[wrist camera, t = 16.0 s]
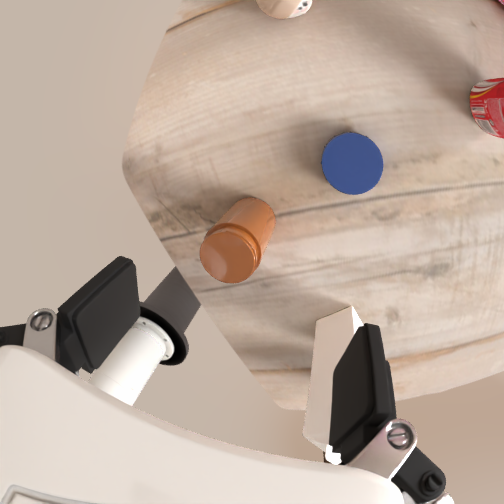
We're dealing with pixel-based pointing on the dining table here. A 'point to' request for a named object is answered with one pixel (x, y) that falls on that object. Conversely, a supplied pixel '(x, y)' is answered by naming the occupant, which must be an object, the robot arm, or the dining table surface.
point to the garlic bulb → (284, 7)
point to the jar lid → (352, 163)
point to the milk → (327, 375)
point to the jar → (238, 241)
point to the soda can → (489, 106)
